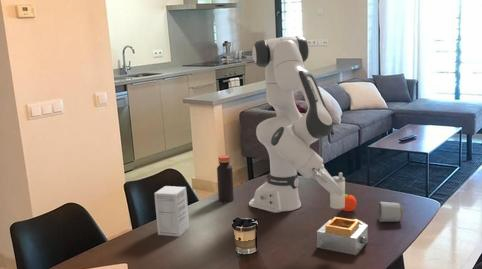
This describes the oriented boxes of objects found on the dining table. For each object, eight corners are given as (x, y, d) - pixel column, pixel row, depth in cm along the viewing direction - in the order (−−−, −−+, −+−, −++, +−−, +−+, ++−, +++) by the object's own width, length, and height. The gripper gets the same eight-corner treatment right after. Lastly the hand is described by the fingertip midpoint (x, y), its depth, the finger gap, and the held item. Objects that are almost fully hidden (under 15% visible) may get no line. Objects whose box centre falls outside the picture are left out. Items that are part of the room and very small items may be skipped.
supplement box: (190, 228, 206) (187, 186, 202) (180, 237, 197) (176, 194, 194) (168, 225, 209) (164, 185, 205) (157, 235, 200) (153, 192, 197)
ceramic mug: (402, 224, 200) (403, 205, 198) (380, 224, 201) (381, 205, 199) (396, 214, 210) (397, 196, 209) (375, 215, 211) (376, 196, 210)
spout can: (327, 207, 181) (327, 173, 178) (333, 202, 185) (333, 170, 183) (341, 209, 178) (341, 175, 176) (347, 205, 182) (347, 171, 180)
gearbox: (317, 247, 183) (316, 225, 181) (330, 235, 193) (329, 214, 191) (359, 255, 175) (359, 233, 174) (370, 242, 185) (371, 220, 184)
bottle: (236, 198, 237) (234, 155, 233) (228, 203, 231) (226, 159, 227) (224, 196, 241) (221, 154, 236) (215, 201, 235) (213, 157, 231)
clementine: (335, 212, 215) (335, 196, 213) (338, 207, 221) (338, 191, 219) (355, 214, 212) (355, 197, 210) (358, 208, 218) (358, 192, 217)
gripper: (323, 166, 168) (353, 194, 170) (311, 151, 187) (338, 176, 190) (309, 181, 168) (340, 208, 171) (299, 164, 188) (326, 188, 191)
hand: (339, 191), depth 181 cm, fingers closed on spout can, 5 cm apart
